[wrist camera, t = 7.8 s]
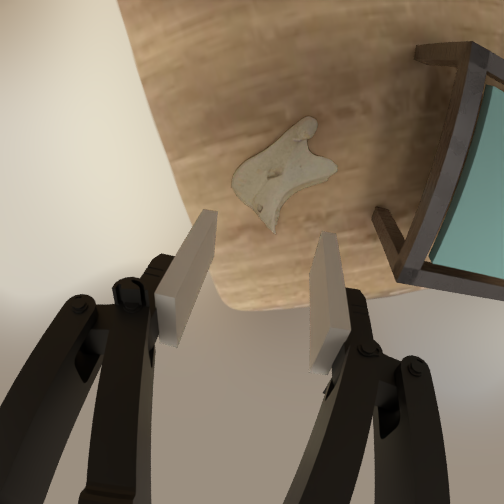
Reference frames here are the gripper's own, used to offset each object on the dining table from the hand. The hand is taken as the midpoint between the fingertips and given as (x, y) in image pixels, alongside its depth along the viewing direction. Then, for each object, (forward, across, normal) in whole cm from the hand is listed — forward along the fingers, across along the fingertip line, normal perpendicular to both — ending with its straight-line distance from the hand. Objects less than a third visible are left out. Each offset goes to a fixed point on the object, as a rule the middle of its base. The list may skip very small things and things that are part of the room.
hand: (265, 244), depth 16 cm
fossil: (+16, -1, +1) cm, 16 cm away
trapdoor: (+6, -20, -5) cm, 22 cm away
